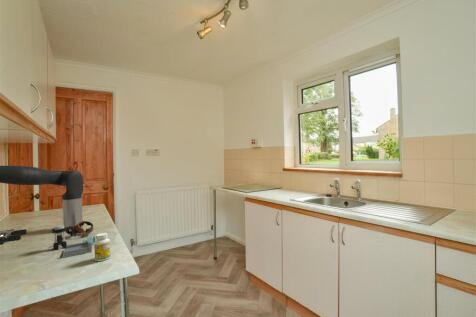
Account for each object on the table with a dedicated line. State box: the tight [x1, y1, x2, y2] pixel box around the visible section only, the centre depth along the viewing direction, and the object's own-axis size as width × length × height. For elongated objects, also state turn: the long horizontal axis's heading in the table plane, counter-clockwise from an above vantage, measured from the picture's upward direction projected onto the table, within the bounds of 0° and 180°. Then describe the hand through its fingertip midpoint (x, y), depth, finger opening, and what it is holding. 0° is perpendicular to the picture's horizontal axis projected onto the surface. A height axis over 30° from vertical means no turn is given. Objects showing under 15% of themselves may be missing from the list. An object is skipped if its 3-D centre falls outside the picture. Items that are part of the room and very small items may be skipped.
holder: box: [61, 236, 93, 259], centre depth 103 cm, size 9×10×4 cm
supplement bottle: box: [93, 232, 111, 262], centre depth 94 cm, size 5×5×10 cm
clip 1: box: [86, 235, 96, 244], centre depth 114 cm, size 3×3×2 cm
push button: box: [48, 224, 68, 251], centre depth 107 cm, size 7×5×10 cm
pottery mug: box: [65, 220, 94, 238], centre depth 124 cm, size 12×10×8 cm
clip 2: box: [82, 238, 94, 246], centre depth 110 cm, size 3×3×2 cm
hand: (23, 234), depth 101 cm, fingers open, 8 cm apart
